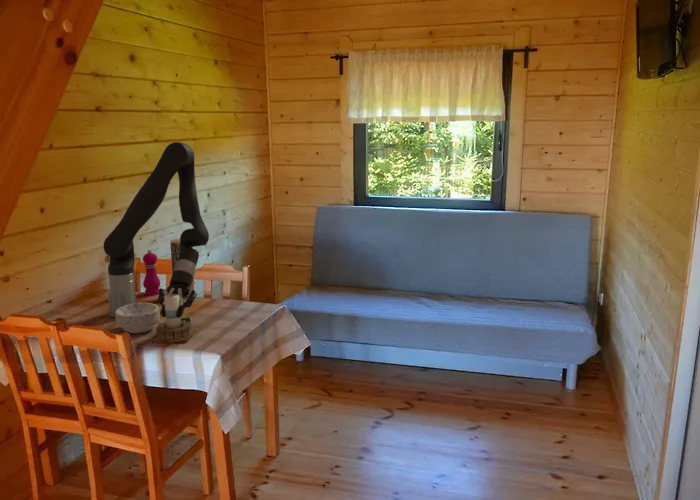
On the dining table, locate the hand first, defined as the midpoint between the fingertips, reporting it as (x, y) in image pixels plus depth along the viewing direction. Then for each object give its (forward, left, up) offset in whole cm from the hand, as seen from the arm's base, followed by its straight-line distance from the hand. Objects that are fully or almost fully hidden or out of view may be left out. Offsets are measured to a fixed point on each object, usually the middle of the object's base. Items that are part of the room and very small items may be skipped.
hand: (170, 316), depth 203 cm
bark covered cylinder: (-10, +50, -8) cm, 52 cm away
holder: (0, +2, -8) cm, 8 cm away
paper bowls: (-15, +9, -8) cm, 19 cm away
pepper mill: (-24, +54, -8) cm, 60 cm away
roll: (0, +2, -5) cm, 5 cm away
